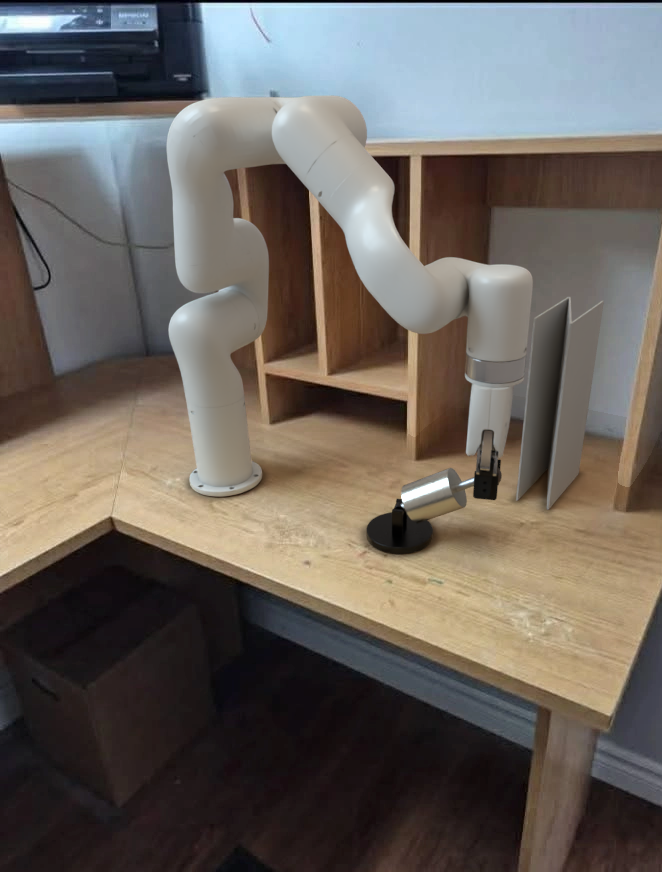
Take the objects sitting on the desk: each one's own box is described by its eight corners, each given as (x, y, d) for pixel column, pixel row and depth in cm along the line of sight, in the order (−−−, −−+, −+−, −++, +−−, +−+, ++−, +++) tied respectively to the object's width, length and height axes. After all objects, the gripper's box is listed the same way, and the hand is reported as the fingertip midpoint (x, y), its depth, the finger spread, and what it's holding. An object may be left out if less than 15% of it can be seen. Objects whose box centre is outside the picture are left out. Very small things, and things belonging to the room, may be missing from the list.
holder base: (437, 521, 107) (438, 491, 105) (426, 558, 99) (427, 526, 96) (375, 514, 110) (374, 485, 107) (359, 549, 101) (358, 518, 99)
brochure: (548, 465, 122) (568, 296, 108) (578, 473, 120) (604, 300, 105) (515, 500, 112) (533, 318, 98) (548, 509, 110) (571, 323, 95)
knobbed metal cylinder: (510, 479, 98) (493, 444, 97) (508, 500, 93) (489, 463, 91) (408, 515, 106) (389, 483, 104) (400, 537, 101) (380, 503, 99)
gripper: (472, 345, 96) (466, 462, 105) (457, 387, 82) (451, 518, 91) (527, 348, 94) (516, 467, 103) (521, 392, 80) (509, 525, 89)
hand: (486, 490), depth 97 cm, fingers closed on knobbed metal cylinder, 3 cm apart
